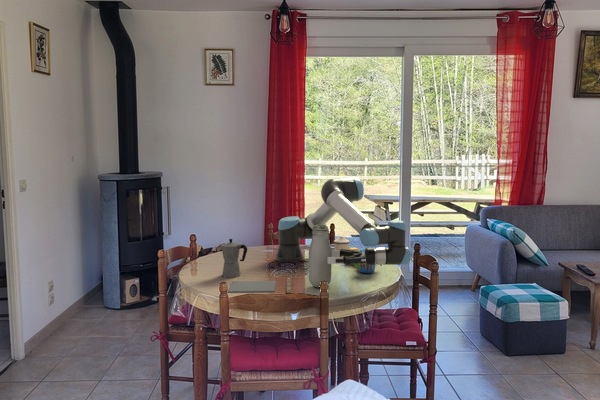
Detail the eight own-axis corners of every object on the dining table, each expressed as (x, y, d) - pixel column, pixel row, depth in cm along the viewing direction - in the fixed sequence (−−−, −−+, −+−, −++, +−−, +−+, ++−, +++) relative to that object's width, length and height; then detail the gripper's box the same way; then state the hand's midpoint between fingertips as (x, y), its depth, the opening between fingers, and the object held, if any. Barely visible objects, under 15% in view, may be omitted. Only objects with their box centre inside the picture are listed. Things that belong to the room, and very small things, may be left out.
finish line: (286, 281, 228) (286, 279, 228) (291, 280, 228) (291, 279, 228) (286, 293, 208) (286, 292, 208) (291, 293, 208) (291, 292, 208)
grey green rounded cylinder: (315, 291, 211) (315, 227, 208) (305, 285, 221) (305, 223, 218) (335, 288, 215) (335, 225, 212) (325, 282, 225) (325, 222, 222)
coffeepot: (214, 276, 237) (213, 239, 235) (224, 271, 246) (223, 236, 244) (243, 279, 231) (242, 241, 229) (252, 274, 240) (251, 238, 238)
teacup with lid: (348, 254, 282) (348, 234, 281) (351, 258, 273) (351, 237, 272) (327, 255, 281) (327, 235, 280) (329, 258, 272) (329, 238, 271)
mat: (232, 282, 226) (232, 281, 226) (276, 281, 227) (276, 280, 227) (228, 292, 211) (228, 291, 210) (274, 291, 211) (274, 290, 211)
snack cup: (371, 267, 251) (371, 248, 250) (386, 271, 243) (385, 251, 242) (347, 272, 242) (347, 251, 242) (362, 275, 234) (362, 254, 233)
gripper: (379, 271, 204) (328, 272, 204) (369, 258, 229) (324, 258, 229) (379, 254, 204) (328, 254, 203) (369, 242, 228) (324, 242, 228)
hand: (326, 256), depth 216 cm, fingers open, 13 cm apart
